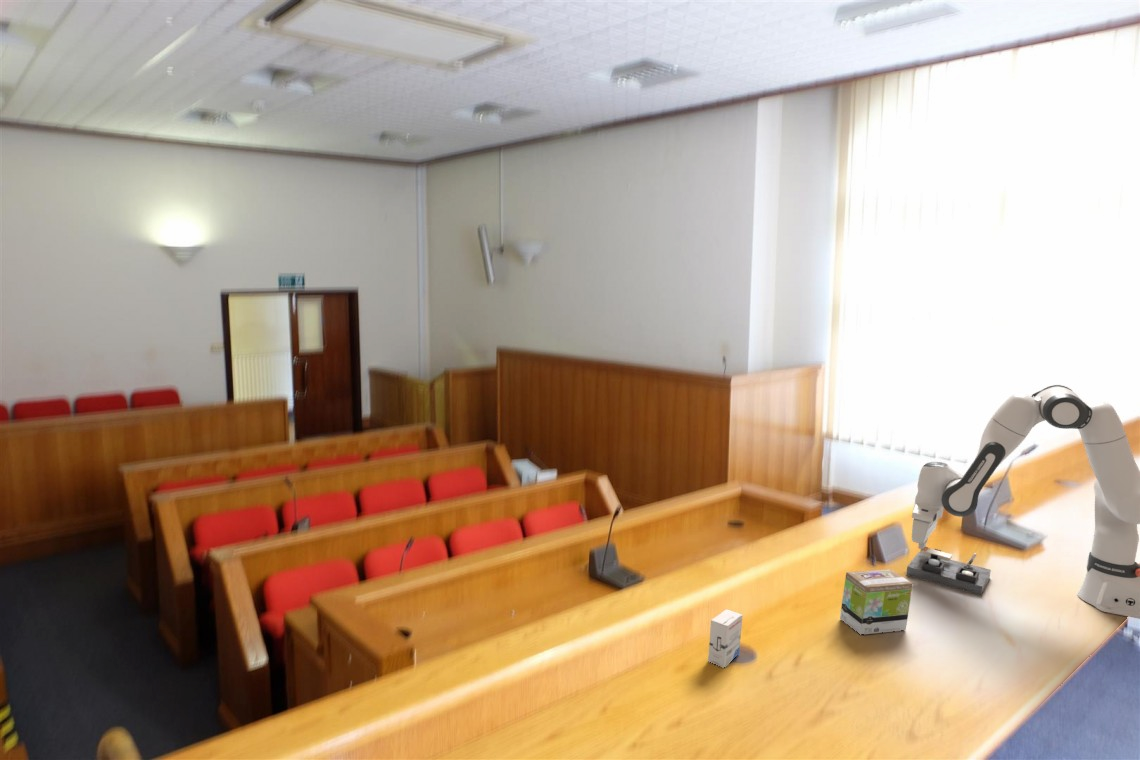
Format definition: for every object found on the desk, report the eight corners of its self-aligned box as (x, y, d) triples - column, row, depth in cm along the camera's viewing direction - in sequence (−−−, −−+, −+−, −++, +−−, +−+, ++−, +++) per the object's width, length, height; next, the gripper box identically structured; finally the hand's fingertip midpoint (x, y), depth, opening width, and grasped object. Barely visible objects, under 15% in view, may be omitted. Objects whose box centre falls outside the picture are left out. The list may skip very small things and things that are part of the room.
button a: (973, 576, 243) (974, 572, 243) (971, 579, 240) (972, 575, 240) (962, 573, 245) (963, 569, 245) (960, 576, 242) (961, 573, 242)
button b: (940, 564, 249) (940, 560, 248) (937, 567, 246) (938, 563, 246) (929, 561, 250) (929, 558, 250) (927, 564, 248) (927, 561, 248)
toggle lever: (969, 566, 250) (977, 554, 248) (969, 567, 249) (977, 555, 247) (966, 564, 250) (974, 552, 248) (965, 565, 249) (973, 553, 248)
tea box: (861, 637, 209) (866, 586, 207) (839, 619, 219) (844, 571, 216) (907, 631, 213) (913, 582, 211) (883, 614, 223) (889, 566, 220)
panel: (989, 578, 250) (991, 561, 249) (981, 595, 237) (983, 578, 236) (917, 559, 263) (919, 543, 262) (906, 575, 250) (908, 558, 249)
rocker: (951, 560, 254) (952, 553, 254) (948, 564, 251) (949, 557, 251) (922, 552, 260) (923, 546, 259) (919, 556, 256) (920, 549, 256)
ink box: (722, 648, 201) (726, 607, 199) (740, 655, 198) (743, 613, 196) (706, 662, 194) (709, 619, 192) (724, 669, 191) (727, 626, 189)
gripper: (925, 498, 265) (919, 536, 267) (911, 514, 249) (904, 554, 251) (945, 503, 261) (938, 541, 264) (931, 519, 245) (925, 559, 248)
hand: (921, 547), depth 257 cm, fingers closed, pressing on rocker
